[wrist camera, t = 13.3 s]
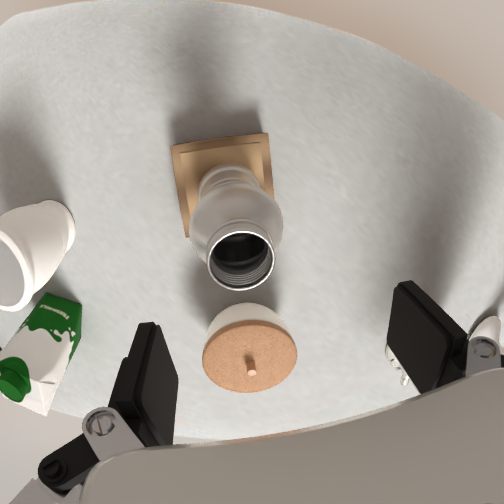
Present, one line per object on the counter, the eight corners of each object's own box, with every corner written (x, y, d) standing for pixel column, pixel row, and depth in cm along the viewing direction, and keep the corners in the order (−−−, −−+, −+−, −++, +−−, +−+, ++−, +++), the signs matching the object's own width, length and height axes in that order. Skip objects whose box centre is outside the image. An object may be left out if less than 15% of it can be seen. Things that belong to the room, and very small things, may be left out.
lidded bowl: (285, 284, 45) (304, 329, 35) (283, 349, 50) (297, 397, 40) (199, 291, 44) (195, 338, 34) (208, 355, 49) (208, 406, 39)
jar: (36, 263, 40) (-15, 314, 26) (18, 200, 35) (-44, 234, 22) (90, 255, 40) (44, 311, 26) (73, 185, 36) (13, 218, 22)
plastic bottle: (189, 175, 34) (155, 235, 15) (244, 151, 33) (277, 180, 15) (213, 224, 36) (210, 328, 18) (266, 201, 36) (317, 284, 17)
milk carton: (87, 301, 43) (36, 393, 25) (85, 343, 46) (47, 432, 28) (41, 285, 41) (-22, 364, 23) (43, 327, 44) (-5, 408, 26)
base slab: (271, 215, 41) (276, 225, 37) (188, 227, 40) (185, 238, 36) (263, 132, 37) (268, 133, 33) (175, 144, 36) (170, 146, 32)
